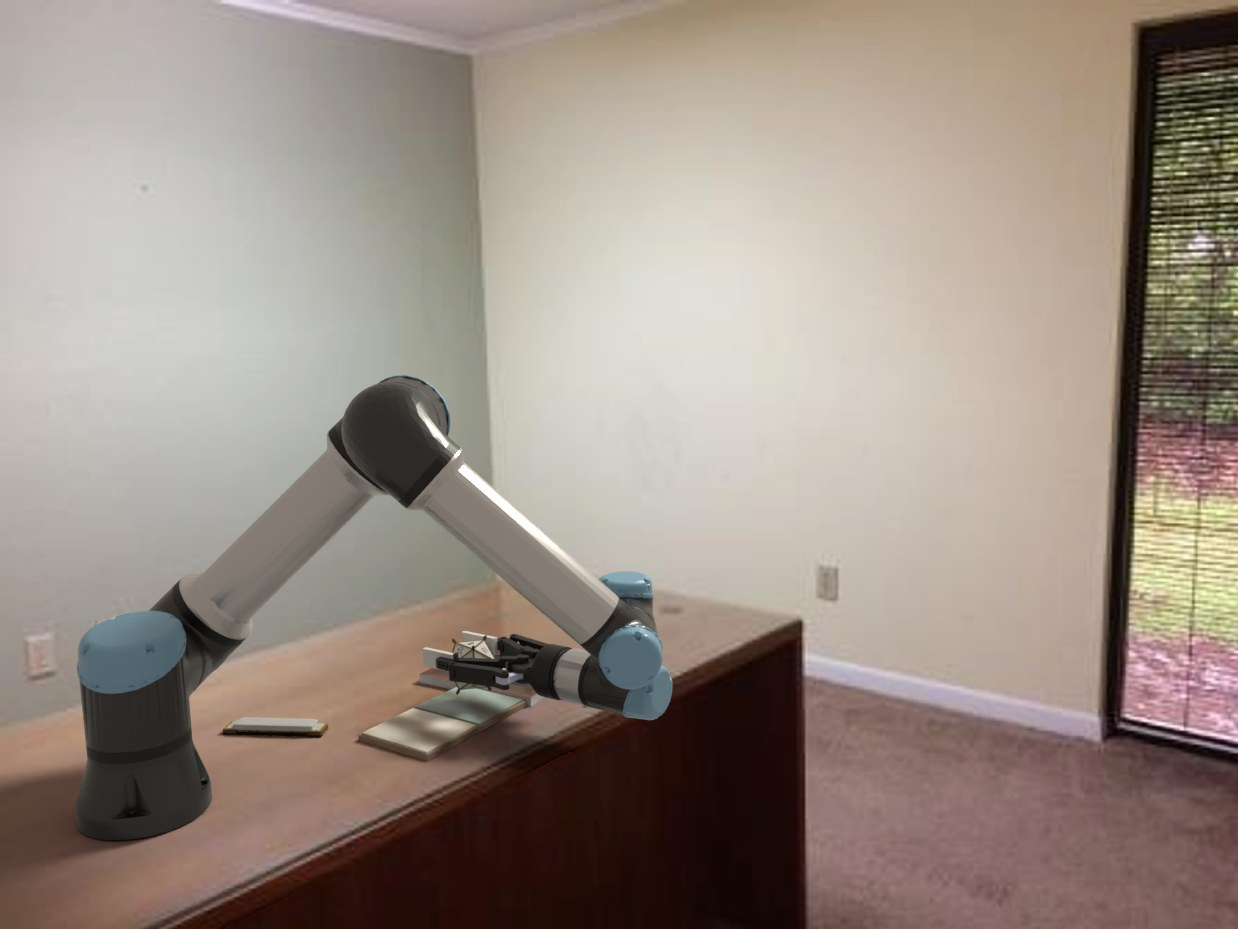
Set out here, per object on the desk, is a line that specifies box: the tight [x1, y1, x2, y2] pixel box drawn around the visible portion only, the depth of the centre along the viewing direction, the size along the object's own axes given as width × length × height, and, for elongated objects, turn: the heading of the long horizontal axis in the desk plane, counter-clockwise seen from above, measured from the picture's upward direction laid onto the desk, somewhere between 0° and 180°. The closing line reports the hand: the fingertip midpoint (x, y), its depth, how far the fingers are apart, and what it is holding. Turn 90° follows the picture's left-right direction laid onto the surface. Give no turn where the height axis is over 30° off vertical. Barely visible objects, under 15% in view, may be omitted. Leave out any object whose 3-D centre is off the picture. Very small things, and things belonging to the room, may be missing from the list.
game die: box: [451, 634, 495, 695], centre depth 156 cm, size 9×8×10 cm
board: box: [358, 687, 527, 762], centre depth 152 cm, size 22×13×1 cm, turn 148°
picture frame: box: [419, 650, 546, 707], centre depth 170 cm, size 16×2×22 cm
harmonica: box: [221, 716, 329, 738], centre depth 149 cm, size 15×3×2 cm, turn 85°
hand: (444, 648), depth 158 cm, fingers closed on game die, 8 cm apart
